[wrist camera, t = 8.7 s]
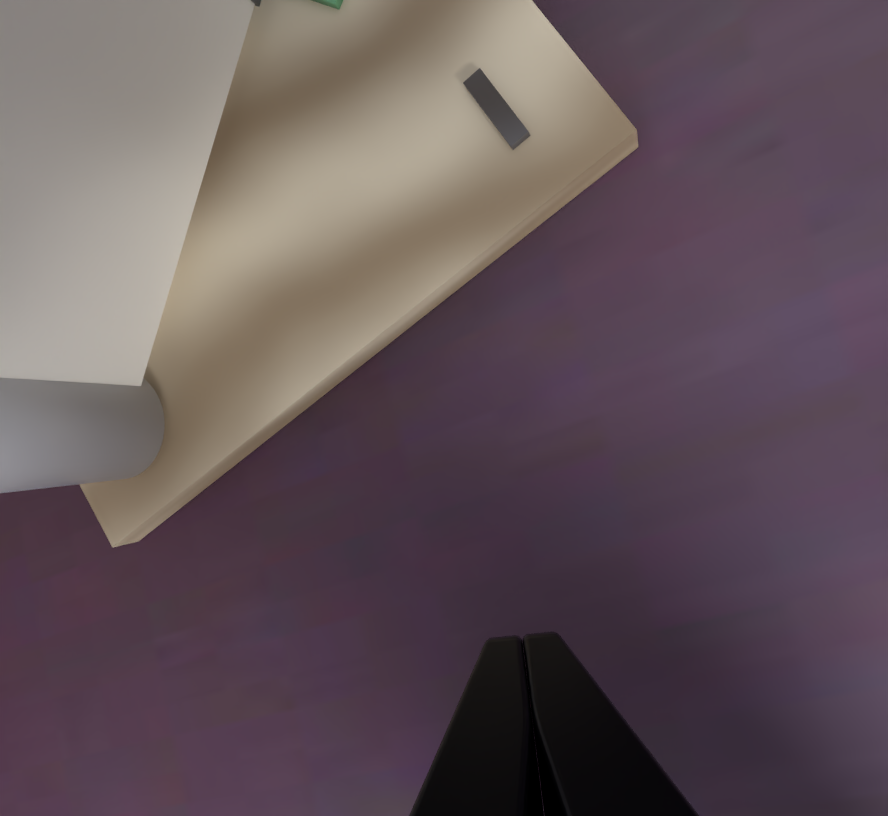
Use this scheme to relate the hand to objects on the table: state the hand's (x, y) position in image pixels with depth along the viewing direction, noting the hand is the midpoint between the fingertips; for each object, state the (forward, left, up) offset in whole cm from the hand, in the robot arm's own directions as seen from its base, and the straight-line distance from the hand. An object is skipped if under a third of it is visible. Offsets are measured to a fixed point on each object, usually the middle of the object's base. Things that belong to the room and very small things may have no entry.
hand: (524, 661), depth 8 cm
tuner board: (+10, +13, -12) cm, 20 cm away
